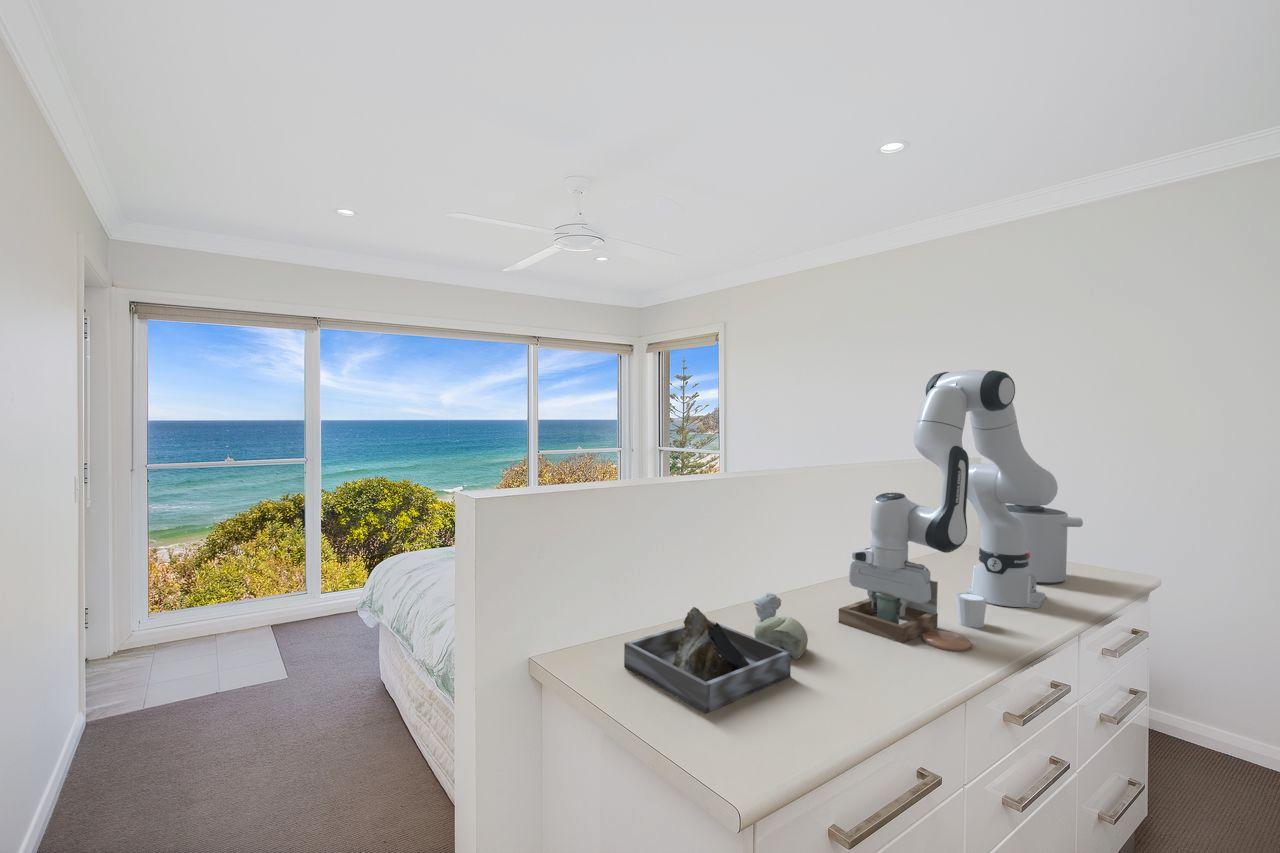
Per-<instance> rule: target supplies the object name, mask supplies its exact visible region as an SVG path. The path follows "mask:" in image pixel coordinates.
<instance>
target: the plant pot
mask: <svg viewBox="0 0 1280 853" xmlns="http://www.w3.org/2000/svg"><path fill="white" fill-rule="evenodd" d="M876 597H877V612H876V618H879V619H883V620H886V621H889V622H893V623H896V624H900V618H899V616H898V615H896V608H898V607H899V600H900V598H896V597H894V596H891V595H888V594H884V593H880V592H876Z"/></svg>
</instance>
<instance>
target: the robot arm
mask: <svg viewBox="0 0 1280 853" xmlns="http://www.w3.org/2000/svg"><path fill="white" fill-rule="evenodd" d="M1015 394H1016V386H1015V381H1014V380H1013V378H1012V377H1011V376H1010V375H1009V374H1008V373H1006V372H1004V371H1001V370H993V369H992V370H982V369H977V370H976V369H969V370H960V371H951V372H950V371H944V372H940V373H937V374H934V375H933V376H932V377H931V378H930V379H929V380H928V382H927V383H926V387H925V398H924V401H923V403H922V406H921V408H920V410H919V414H918V416H917V421H916V424H915V428H914V434H913V443H914V446H915V448H916V449H917V451H918V452H919V454H920V455H922V456H923V458H925V459H927V460H928V461H930V462H931V463H933V464H935V465H936V466H937V467H938V468H939V470H940V471H941V475H942V481H941V484H942V485H941V491H940V492H941V496H940V505H939V507H937V508H934V507H930V506H929V507H928V506H926V505H920V504H918V503H915V502H913V501H911V500H910V499H908V498H907V496H906V494H904V493H901V492H884V493H881V494H878V495H876V496H875V497H874V499H873V502H872V508H871V512H870V514H871V515H870V530H871V535H872V536H871V540H870V546H869V547H867V548H863V549H858V550H855V551H853V552H851V559H852V561H851V563H850V566H849V575H848V579H849V580H848V581H849V583H850V586H852V587H855V588H859V589H862V590H867V596H868V598H870V600H871V601H872V608H874V609H877V598H876V596H875V594H876V592H880V593H884V594H888V595H891V596H894V597H896V598H900V602H901V603H903V604H902V606H901V607H898V608H896V615H898V616H902V617H903V616H905V609H906V608H907V606H908V605H909V603H910V601H911V602H915V603H919V604H924V603H927V602H928V601H930V599H931V587H930V580H931V571H930V570H929V568H928V567H926V566H925V565H924V564H922V563H916V562H912V561H909V542H912V543H914V544H917V545H922V546H924V547H928V548H931V549H934V550H937V551H939V552H941V553H946V554H949V553H952V552H954V551H956V550H957V549H959V548H961V546H963V545H964V543H965V541H966V539H967V537H968V523H967V522H968V521H967V501H969V502H970V503H971V504H972V506H973V508H974V510H975V511H976V515H977V516H978V519H979V524H980V526H979V527H980V547H979V549H978V550H979V551H978V561H979V562H978V563H977V564H975V565H974V566H973V573H972V583H971V587H968V588H966V593H971V594H977V595H980V596H983V597H985V598H986V599H987V603H988V604H992V605H999V606H1003V607H1010V608H1011V607H1012V608H1032V609H1039V608H1040V607H1041V606H1042V604H1043V602H1044V600H1045V599H1046V593H1045V592H1043V591H1040V590H1037V584H1036V576H1035V575H1034V574H1033V573H1032V571H1031V570H1030V569H1029V568H1028V565H1029V564H1028V559H1029V557H1030V552H1026V528H1025V526H1024V524H1023V523H1022V522H1021V521H1020V520H1019V519H1017V518H1016V517H1014V516H1013V515H1011V514H1010V512H1009V511H1008V509H1007V507H1006V505H1023V506H1047V505H1049V504H1050V503H1052V502H1053V500H1055V498H1056V496H1057V495H1058V490H1059V489H1058V488H1059V487H1058V482H1057V480H1056V478H1055V476H1054V474H1052V473H1051V471H1049V470H1047V469H1045V468H1043V467H1042V466H1040V465H1039V463H1037V462H1036V461H1035V460H1034V459H1033V458H1032V457H1031V456H1030V454H1029V453H1028V452H1027V450H1026V449H1025V447H1024V444H1023V442H1022V439H1021V435H1020V431H1019V425H1018V419H1017V415H1016V410H1015V407H1014V403H1013V401H1014V399H1015ZM967 412H969V417H970V418H969V419H970V425H971V430H972V436H973V442H974V447H975V449H976V451H977V452H978V453H979V454H980V455H981V456H983V457H984V458H986V459H988V460H990V461H991V462H992V463H982V462H981V463H973V464H970V462H969V460H970V459H969V454H968V452H967V451H966V450H965V448H964V447H963V432H964V429H965V428H964V427H965V425H966V424H965V423H966V417H967Z"/></svg>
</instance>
